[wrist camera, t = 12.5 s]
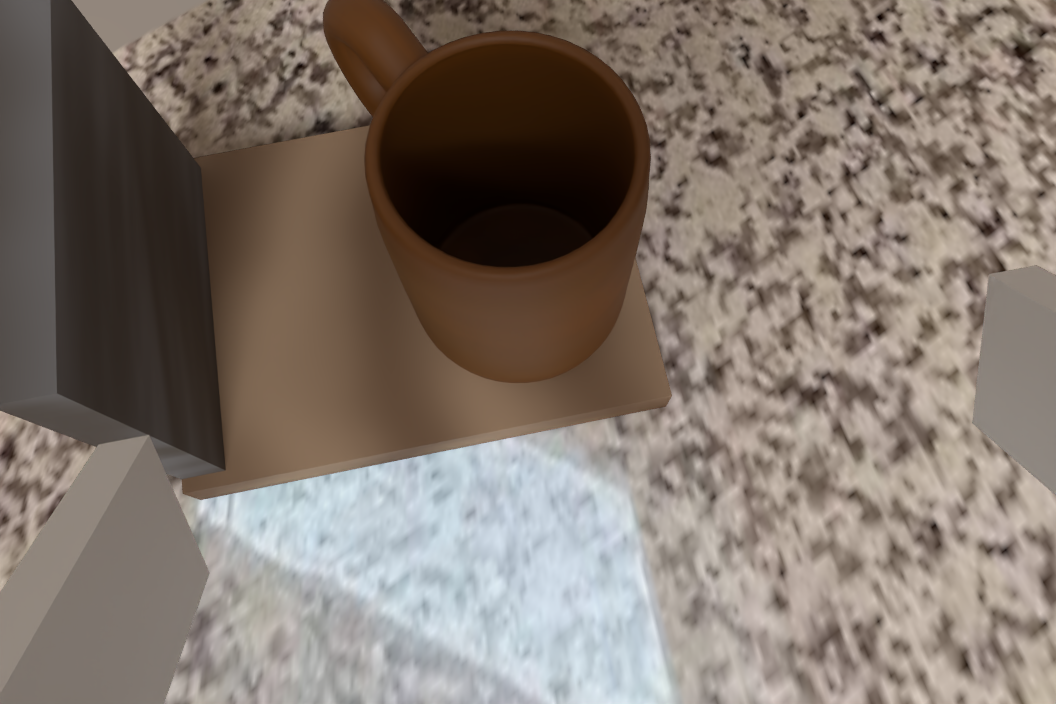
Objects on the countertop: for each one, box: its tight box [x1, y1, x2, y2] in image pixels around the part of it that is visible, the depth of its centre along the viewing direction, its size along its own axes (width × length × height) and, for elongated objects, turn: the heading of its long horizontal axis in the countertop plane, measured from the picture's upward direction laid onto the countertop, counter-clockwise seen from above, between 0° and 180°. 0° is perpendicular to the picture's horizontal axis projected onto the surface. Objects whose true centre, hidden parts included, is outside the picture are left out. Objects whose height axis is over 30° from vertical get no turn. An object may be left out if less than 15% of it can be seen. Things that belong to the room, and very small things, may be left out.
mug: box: [323, 0, 651, 383], centre depth 26 cm, size 12×8×9 cm, turn 41°
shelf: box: [0, 0, 672, 500], centre depth 26 cm, size 17×13×12 cm
